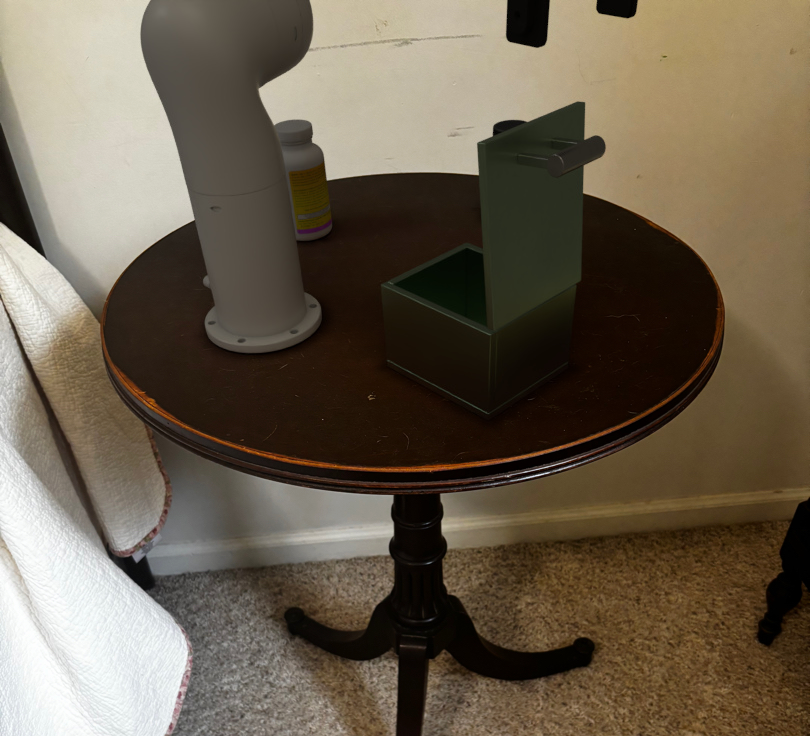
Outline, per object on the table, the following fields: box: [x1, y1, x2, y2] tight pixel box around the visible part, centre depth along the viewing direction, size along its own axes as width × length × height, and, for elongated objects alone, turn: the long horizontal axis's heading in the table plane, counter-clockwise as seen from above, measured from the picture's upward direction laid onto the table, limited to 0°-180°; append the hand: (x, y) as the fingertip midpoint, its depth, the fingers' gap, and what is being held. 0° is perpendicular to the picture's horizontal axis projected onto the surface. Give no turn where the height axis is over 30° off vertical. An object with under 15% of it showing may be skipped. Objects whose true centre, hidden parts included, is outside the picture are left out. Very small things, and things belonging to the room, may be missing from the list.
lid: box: [476, 100, 607, 331], centre depth 63 cm, size 14×12×5 cm
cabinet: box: [380, 242, 578, 421], centre depth 76 cm, size 14×12×9 cm
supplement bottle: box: [274, 119, 333, 242], centre depth 99 cm, size 7×7×13 cm
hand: (572, 29), depth 56 cm, fingers open, 9 cm apart
